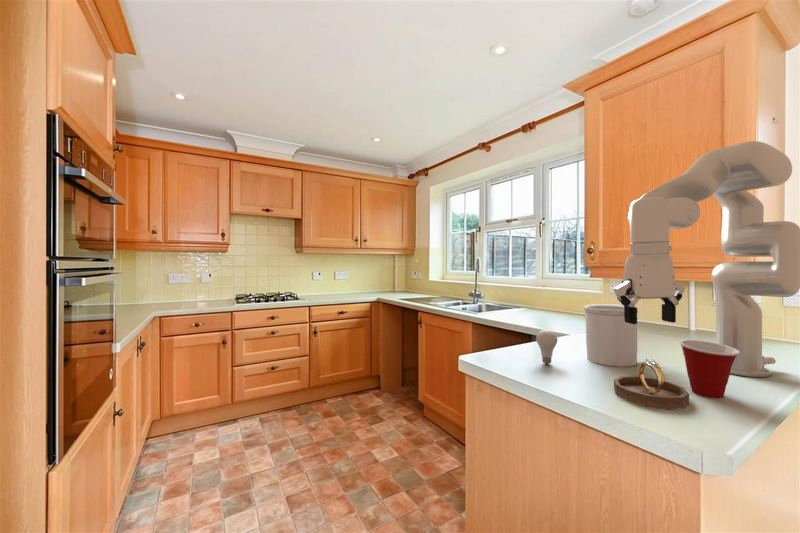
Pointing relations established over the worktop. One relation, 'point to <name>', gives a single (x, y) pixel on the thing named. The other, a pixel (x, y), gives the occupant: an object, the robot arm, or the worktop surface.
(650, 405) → the ring dish
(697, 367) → the plastic cup
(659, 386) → the gold round band
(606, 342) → the utensil holder
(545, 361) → the lightbulb
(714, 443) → the worktop surface
